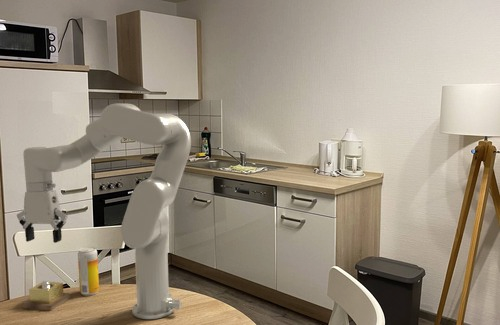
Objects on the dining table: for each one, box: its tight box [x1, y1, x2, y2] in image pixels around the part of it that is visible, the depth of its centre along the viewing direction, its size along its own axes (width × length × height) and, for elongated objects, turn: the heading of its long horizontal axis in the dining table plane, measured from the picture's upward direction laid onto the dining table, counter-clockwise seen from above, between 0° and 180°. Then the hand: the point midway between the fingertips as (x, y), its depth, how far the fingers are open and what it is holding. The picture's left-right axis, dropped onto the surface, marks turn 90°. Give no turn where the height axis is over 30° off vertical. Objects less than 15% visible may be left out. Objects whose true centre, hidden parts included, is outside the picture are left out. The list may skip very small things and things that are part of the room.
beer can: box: [77, 246, 100, 297], centre depth 158 cm, size 6×6×15 cm
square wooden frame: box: [28, 281, 64, 304], centre depth 150 cm, size 7×7×4 cm
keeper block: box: [22, 280, 71, 312], centre depth 150 cm, size 10×10×7 cm
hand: (43, 240), depth 148 cm, fingers open, 9 cm apart
